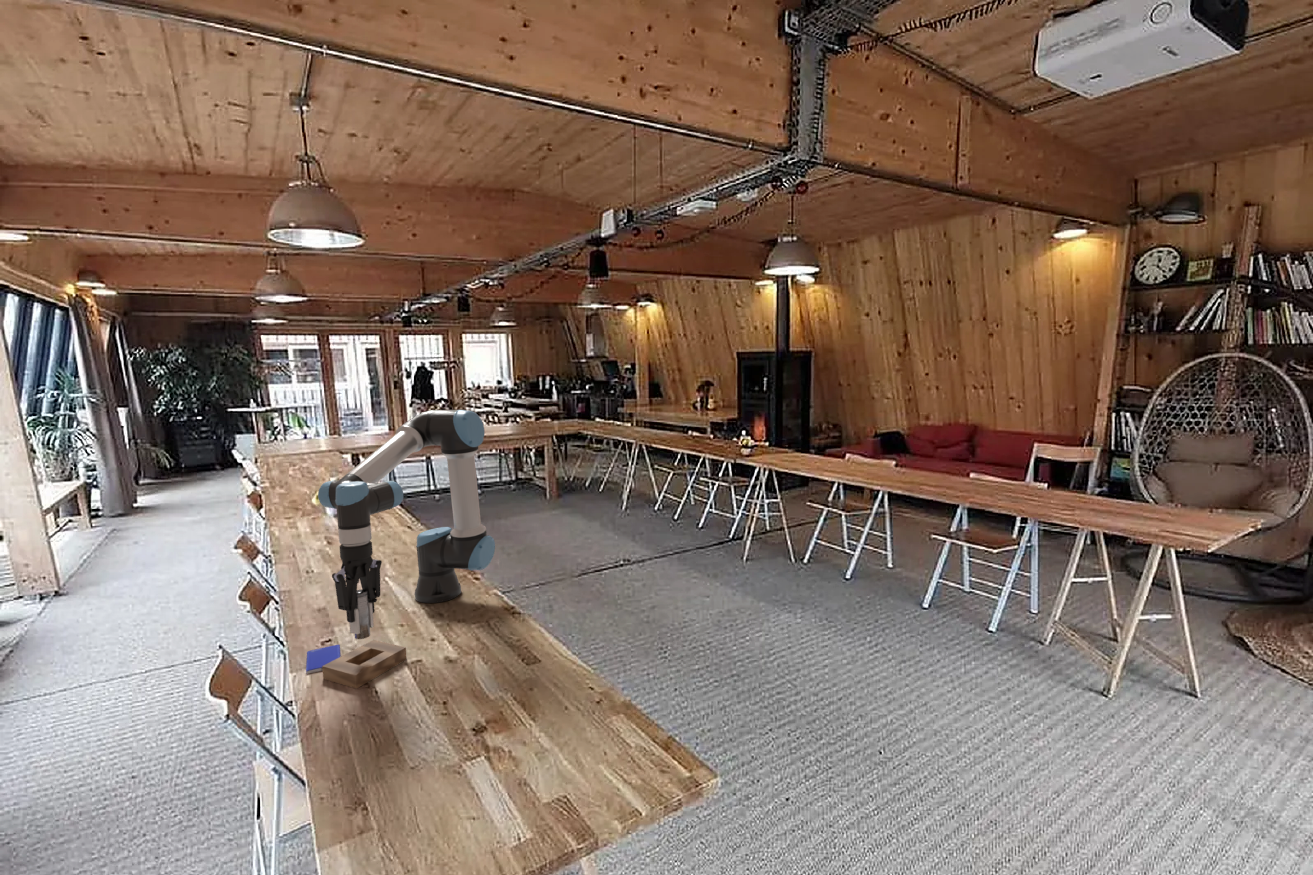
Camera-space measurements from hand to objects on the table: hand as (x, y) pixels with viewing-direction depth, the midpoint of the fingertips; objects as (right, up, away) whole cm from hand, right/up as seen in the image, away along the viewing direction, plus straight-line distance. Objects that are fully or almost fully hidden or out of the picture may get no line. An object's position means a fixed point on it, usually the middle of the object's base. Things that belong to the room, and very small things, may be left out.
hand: (362, 629), depth 160 cm
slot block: (0, -11, +2) cm, 11 cm away
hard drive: (-14, -11, +7) cm, 19 cm away
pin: (0, -2, 0) cm, 2 cm away
